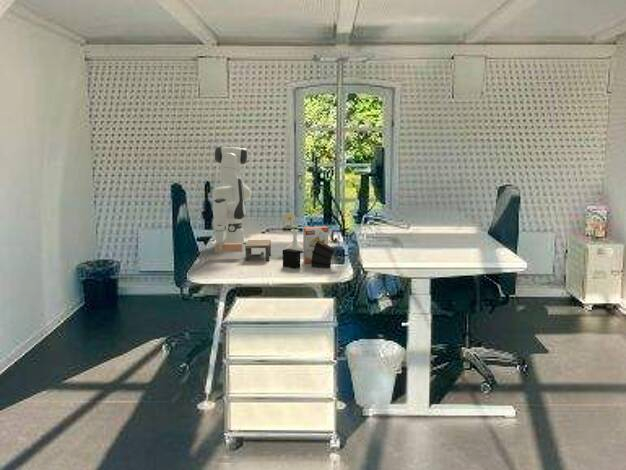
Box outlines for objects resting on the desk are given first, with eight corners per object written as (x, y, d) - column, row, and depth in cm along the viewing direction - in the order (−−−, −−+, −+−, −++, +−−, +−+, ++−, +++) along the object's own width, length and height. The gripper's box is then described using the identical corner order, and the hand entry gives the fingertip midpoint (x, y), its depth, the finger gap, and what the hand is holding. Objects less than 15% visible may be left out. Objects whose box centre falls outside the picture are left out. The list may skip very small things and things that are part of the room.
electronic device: (295, 269, 387) (295, 251, 385) (282, 266, 393) (282, 249, 392) (300, 267, 390) (300, 250, 388) (287, 265, 396) (287, 248, 395)
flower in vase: (305, 249, 441) (304, 211, 436) (303, 253, 430) (302, 214, 425) (284, 249, 442) (284, 211, 438) (282, 253, 431) (281, 213, 427)
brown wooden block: (216, 250, 419) (216, 243, 418) (242, 249, 419) (242, 242, 418) (215, 251, 413) (215, 244, 413) (241, 251, 413) (241, 244, 413)
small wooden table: (248, 254, 427) (248, 239, 425) (270, 254, 427) (270, 239, 425) (245, 261, 408) (245, 245, 406) (269, 261, 408) (268, 245, 406)
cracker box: (305, 263, 400) (305, 228, 396) (303, 261, 405) (302, 227, 402) (328, 262, 403) (328, 227, 400) (325, 260, 409) (325, 225, 405)
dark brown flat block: (307, 262, 395) (318, 240, 391) (327, 273, 393) (338, 250, 389) (305, 264, 391) (316, 241, 387) (325, 275, 389) (336, 252, 385)
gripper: (218, 223, 424) (218, 245, 426) (213, 228, 404) (214, 251, 406) (228, 223, 424) (228, 245, 426) (224, 228, 404) (224, 251, 406)
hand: (221, 248), depth 416 cm, fingers closed on brown wooden block, 6 cm apart
